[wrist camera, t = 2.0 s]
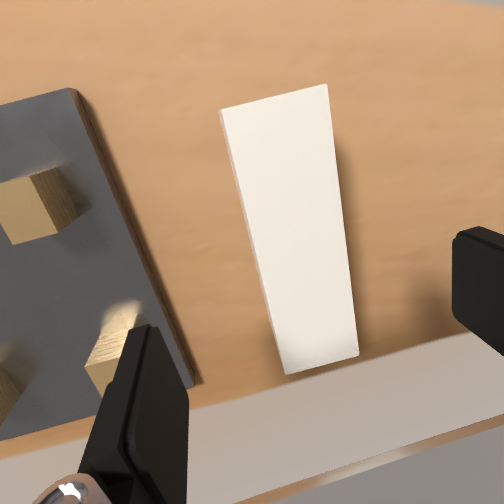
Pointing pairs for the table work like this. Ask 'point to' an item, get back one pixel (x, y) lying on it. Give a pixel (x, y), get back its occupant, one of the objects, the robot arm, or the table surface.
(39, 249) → the cradle jig
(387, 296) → the table surface
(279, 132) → the white rectangular block
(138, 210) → the table surface
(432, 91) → the table surface
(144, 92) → the table surface
